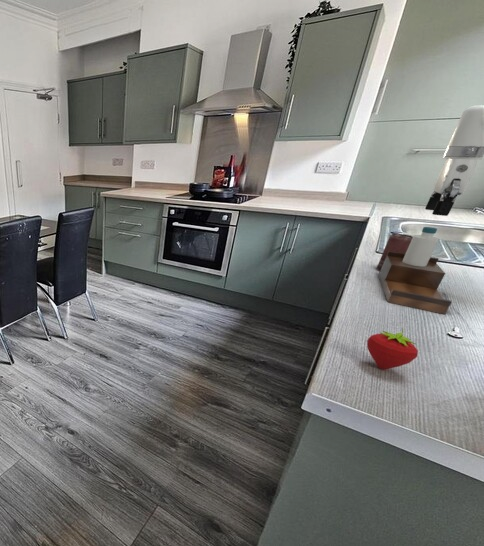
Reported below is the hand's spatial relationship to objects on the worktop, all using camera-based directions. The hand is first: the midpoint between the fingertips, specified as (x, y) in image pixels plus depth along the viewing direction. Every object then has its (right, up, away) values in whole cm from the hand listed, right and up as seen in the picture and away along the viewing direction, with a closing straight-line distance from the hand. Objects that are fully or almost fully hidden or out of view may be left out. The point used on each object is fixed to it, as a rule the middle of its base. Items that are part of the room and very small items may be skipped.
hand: (435, 212), depth 96 cm
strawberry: (-46, -40, -30) cm, 68 cm away
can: (+6, -18, +21) cm, 29 cm away
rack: (-4, -25, +4) cm, 26 cm away
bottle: (0, -16, +6) cm, 17 cm away
